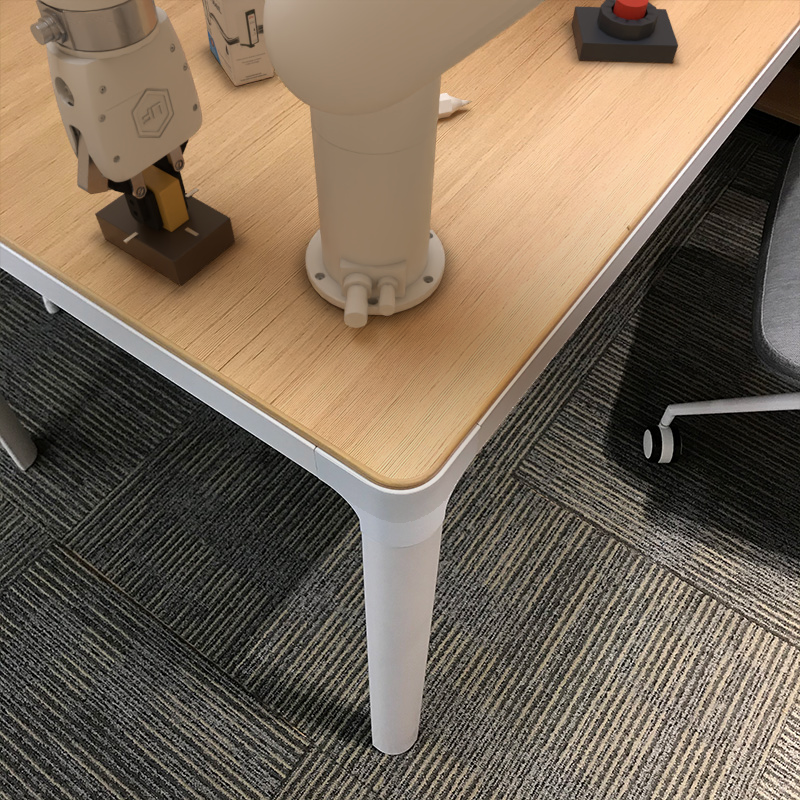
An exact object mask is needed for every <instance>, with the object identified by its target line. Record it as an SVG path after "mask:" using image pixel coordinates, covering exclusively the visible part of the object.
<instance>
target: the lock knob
mask: <svg viewBox="0 0 800 800" xmlns="http://www.w3.org/2000/svg"><path fill="white" fill-rule="evenodd" d="M142 174H143V177H144V181H145V184H146V188H147V189H149V190H150V191H152V192H153V193H154V195H155V198H156V201H157V204H158V208H159V211H160V214H161V217H162V221H163V224H164V225H163V227H164V228H165V229H167V230H169V231H170V232H172V231H174V230H175V229H176V228H178V227H179V226H180V225H182V224H183V223H184V222H186V221H187V220H188V219H189V217H188V213H187V209H186V206H185V202H184V198H183V194H182V191H181V187H180V183H179V180H178V179H176V178H175V177H173V176H171V175H169V174H168V173H166V172H164V171H162V170H160V169H159V168H157V167H155V166H153V165H151V166H149V167H148V168H146V169H145V170H143V171H142Z"/></svg>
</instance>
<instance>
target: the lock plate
mask: <svg viewBox="0 0 800 800" xmlns="http://www.w3.org/2000/svg"><path fill="white" fill-rule="evenodd" d="M199 191H200V190H199V188H197V187H195V188H194V189H192V190H191V191H189V192H188V193H187V192H185V197H186V200H187V204H188V209H187V213H188V217H189V219H188V220H187V221H186V222H184V223H183V224H182V225H180V226H179V227H178V228H176V229H175V230H174V231H172V232H170V231H169V230H167V229H165V228H164V227H163V228H162V229H160V230H159V231H157V230H155V229H153V228H152V227H150V226H148V225H147V224H145V223H143V224H141V223H139V222H138V221H136V220H135V219H134V218H133V217H132V215H131V213H130V210H129V207H128V204H127V201H126V198H125V195H124V193H122V194H121V195H120V196H118V197H116V198H115V199H114V200H113V201H111V202H110V203H108V204H107V205H105V206H104V207H102V208H101V209H100V210H98V211H97V212H95V213H94V215H95V218H96V220H97V223H98V225H99V227H100V231H101V233H102V236H103V238H104V239H105V240H106V241H108V242H109V243H111V244H113V245H114V246H116V247H118V248H119V249H120V250H123V251H124V252H125V253H127V254H129V255H130V256H132V257H134V258H135V259H137V260H138V261H140V262H141V263H143V264H145V265H146V266H148V267H150V268H151V269H153V270H155V272H158V273H159V274H161V275H163V276H164V277H166V278H168V279H169V280H171V281H172V282H174V283H176V284H177V285H178V286H181V287H182V286H183V285H184V284H186V283H187V282H188V281H189V280H191V279H192V278H193V277H194V276H196V275H197V274H198V273H199V272H201V270H204V268H205V267H207V266H208V265H209V264H210V263H211V262H213V261H215V259H217V258H218V257H219V256H220V255H221V254H223V253H224V252H225V251H226V250H228V249H230V247H232V246H233V245H234V244H235V243H236V239H235V235H234V228H233V224H232V220H231V217H230V216H228V215H226V214H224V213H223V212H221V211H219V210H217V209H216V208H213V207H212V206H210V205H208V204H207V203H205V202H203V201H201V200H200V199H198V198H196V197H194V195H195V194H197V193H198V192H199Z"/></svg>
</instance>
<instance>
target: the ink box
mask: <svg viewBox="0 0 800 800" xmlns="http://www.w3.org/2000/svg"><path fill="white" fill-rule="evenodd" d="M201 2H202V8H203V13H204V19H205V26H206V31H207V38H208V43H209V49H210V51H211V53H212V54H213V56H214V57H215V59H216V60H217V62H218V63H219V64H220V66H221V68H222V69H223V70H224V72H225V74H226V75H227V77H228V78H229V80H230V81H231V82H232V84H233V85H234V86H235V87H238V86H242V85H245V84H248V83H254V82H258V81H260V80H261V81H262V80H265V79H269V78H273V77H274V68H273V66H272V64H271V61H270V58H269V56H268V52H267V48H266V44H265V39H264V31H263V14H264V5H265V0H201Z"/></svg>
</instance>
